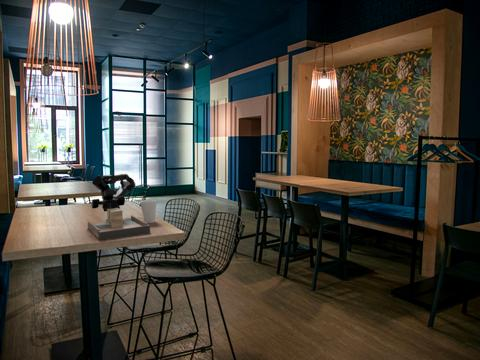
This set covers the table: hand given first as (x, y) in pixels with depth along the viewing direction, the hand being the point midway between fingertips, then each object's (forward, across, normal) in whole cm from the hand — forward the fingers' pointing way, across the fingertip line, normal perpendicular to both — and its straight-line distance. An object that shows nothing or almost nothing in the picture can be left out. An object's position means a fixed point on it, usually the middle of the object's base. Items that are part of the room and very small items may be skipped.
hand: (111, 213), depth 229 cm
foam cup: (+6, +22, +5) cm, 24 cm away
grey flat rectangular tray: (+15, 0, -4) cm, 15 cm away
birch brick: (+9, 0, -2) cm, 10 cm away
